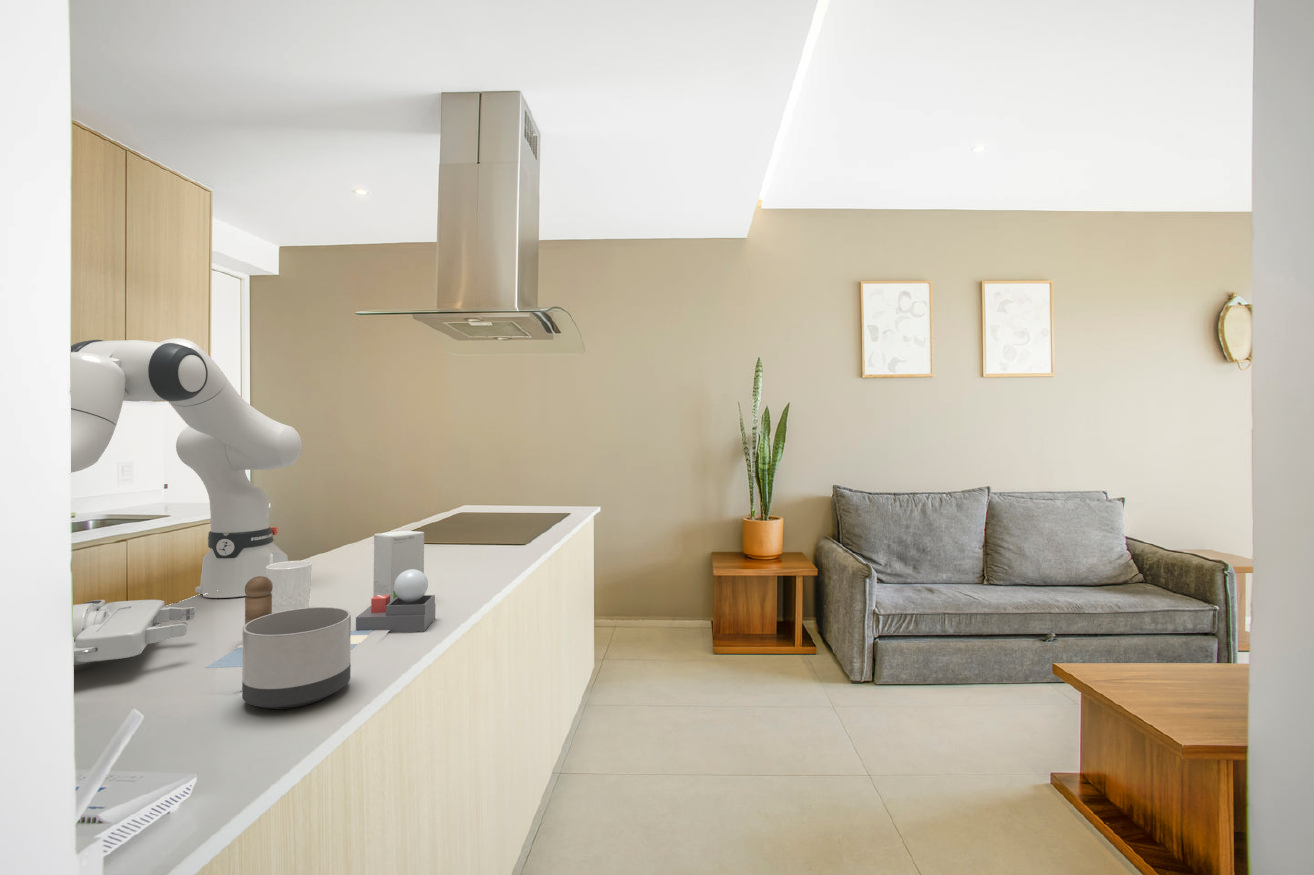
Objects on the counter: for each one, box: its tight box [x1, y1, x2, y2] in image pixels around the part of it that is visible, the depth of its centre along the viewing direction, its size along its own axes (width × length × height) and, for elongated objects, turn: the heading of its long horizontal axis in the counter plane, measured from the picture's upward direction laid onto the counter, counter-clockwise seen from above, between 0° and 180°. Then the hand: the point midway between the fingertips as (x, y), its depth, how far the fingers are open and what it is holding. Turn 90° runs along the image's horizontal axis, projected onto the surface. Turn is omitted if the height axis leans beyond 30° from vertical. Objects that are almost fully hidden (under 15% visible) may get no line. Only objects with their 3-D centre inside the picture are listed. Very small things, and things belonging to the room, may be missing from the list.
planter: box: [241, 606, 352, 710], centre depth 83 cm, size 13×13×10 cm
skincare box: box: [372, 530, 425, 602], centre depth 126 cm, size 8×7×16 cm
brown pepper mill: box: [244, 576, 273, 625], centre depth 102 cm, size 4×4×11 cm
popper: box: [355, 594, 436, 634], centre depth 113 cm, size 8×12×6 cm, turn 97°
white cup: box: [266, 560, 313, 614], centre depth 120 cm, size 8×8×10 cm
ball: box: [394, 569, 429, 602], centre depth 113 cm, size 6×6×6 cm
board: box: [204, 630, 374, 669], centre depth 100 cm, size 16×20×1 cm
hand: (191, 620), depth 97 cm, fingers open, 8 cm apart
